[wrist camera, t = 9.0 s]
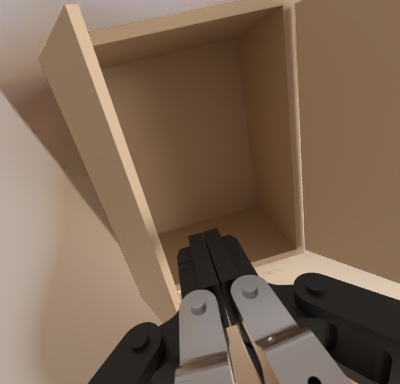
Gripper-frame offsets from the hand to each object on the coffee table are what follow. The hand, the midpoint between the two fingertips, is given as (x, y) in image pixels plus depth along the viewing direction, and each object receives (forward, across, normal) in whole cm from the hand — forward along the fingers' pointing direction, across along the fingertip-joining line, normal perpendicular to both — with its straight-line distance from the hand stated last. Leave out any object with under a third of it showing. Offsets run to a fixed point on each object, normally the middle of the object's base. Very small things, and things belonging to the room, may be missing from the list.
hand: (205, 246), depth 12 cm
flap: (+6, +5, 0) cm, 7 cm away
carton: (+22, -2, 0) cm, 22 cm away
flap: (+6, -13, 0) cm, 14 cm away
